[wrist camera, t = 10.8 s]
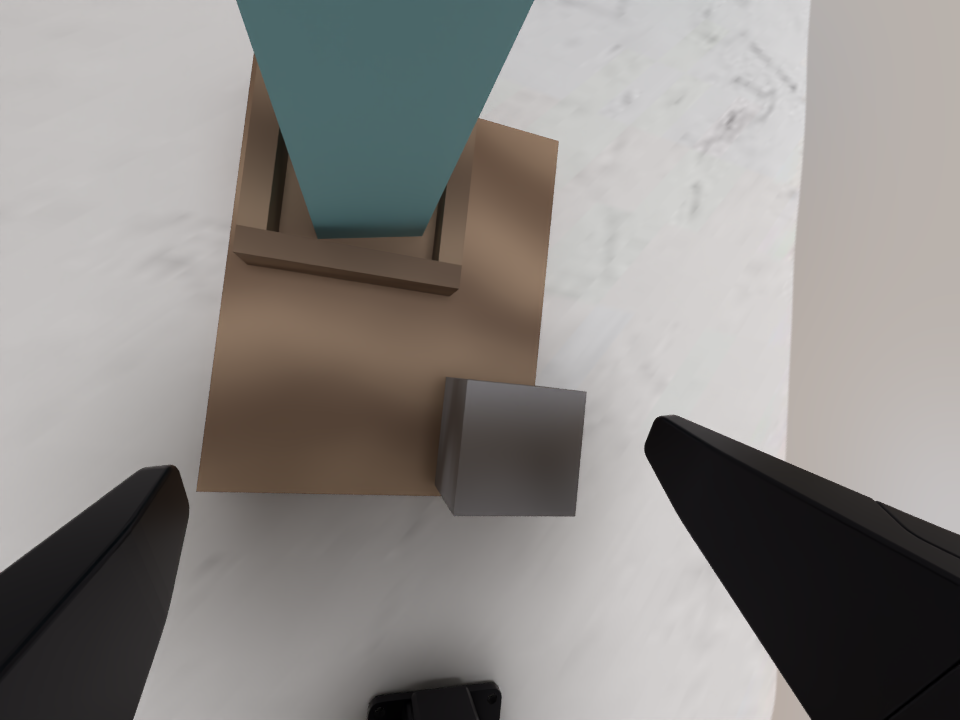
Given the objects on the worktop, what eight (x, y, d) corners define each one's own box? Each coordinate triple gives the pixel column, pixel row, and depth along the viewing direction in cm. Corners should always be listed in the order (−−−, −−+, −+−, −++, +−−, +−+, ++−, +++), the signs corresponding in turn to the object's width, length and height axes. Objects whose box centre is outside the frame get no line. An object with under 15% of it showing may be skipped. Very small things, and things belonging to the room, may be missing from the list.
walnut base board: (521, 488, 22) (573, 529, 16) (209, 481, 18) (144, 531, 12) (554, 158, 22) (613, 94, 17) (262, 77, 18) (222, -39, 13)
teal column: (422, 236, 19) (544, -21, 6) (317, 238, 17) (210, -77, 5) (410, 137, 19) (512, -321, 6) (305, 133, 17) (164, -454, 5)
